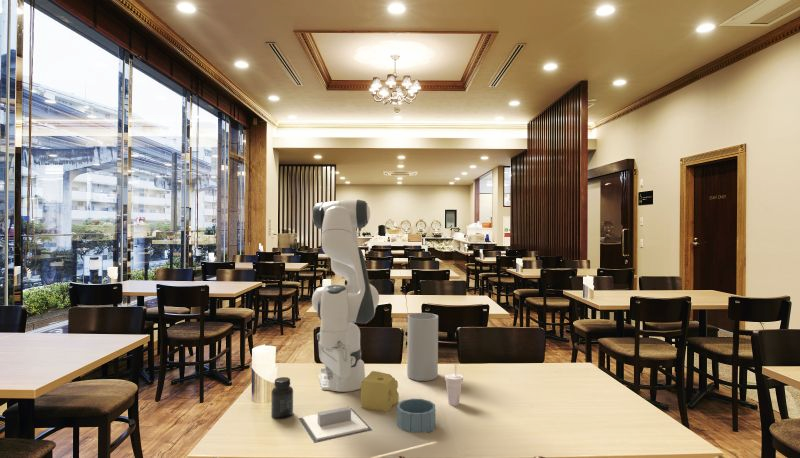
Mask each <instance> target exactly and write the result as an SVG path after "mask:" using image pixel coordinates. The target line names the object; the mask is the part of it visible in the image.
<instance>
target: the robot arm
mask: <svg viewBox="0 0 800 458" xmlns="http://www.w3.org/2000/svg"><path fill="white" fill-rule="evenodd" d="M370 217H371V210H370V207H369V205H368V203H367V202H366V200H363V199H356V200H355V199H340V200H333V201H332V200H330V201H325V202H324V201H321V202H317V203H315V204H314V206H313V207H312V211H311V219H312V221H313V225H314V227H316V228H317V229H320V230H321V235H320V238H321V249H322V251H323V253H324V254H325V255H326V257H327V258H329V259H330V268H331V271H332V272H333V273H334V274H335V275H338V276H339V277H341V278H344V279H345V280H346V284H331V285H325V286H320V287H317V288H316V289H315V290H314V292H313V293H312V297H311V304H312V308H313V309H314V310H315V311H316V313H317V318H318V319H319V320H320V321H321V322H320V323H321V325H320V329H319V332H318V333H317V334H316V339H317V340H318V357H319V360H320V363H323V366H321V369H320V372H321V373H319V374H318V381H319V385H320V388H321V390H323V391H333V392H340V393H341V392H342V393H343V392H344V393H346V392H354V391H358V390H361V382H362V380H363V379H365V378H366V371H365V370H366V369H365V362H364V361H363V360H362V349H361V330H360V327H359V326H358V325H357V324H365V325H366V324H367V323H369V322H370V321H372V319H373V318H374V317H375V315H376V314H375V313H376V308H377V307H378V306H379V302H380V296H379V292H378V290H377V288H376V287H375V286H374V285H372V284H371V283H370V280H369V274H368V268H367V265H366V260H365V256H364V253H363V250H362V248H360V246H359V245H360V244H359V237H358V232H361V231H362V229H364V228H365V227H366V226H367V225H368V223H369V221H370ZM357 228H358V232H357ZM355 323H356V324H355Z"/></svg>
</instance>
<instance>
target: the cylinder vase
mask: <svg viewBox="0 0 800 458" xmlns="http://www.w3.org/2000/svg"><path fill="white" fill-rule="evenodd" d="M406 341H407V342H406V343H407V346H406V347H407V348H406V349H407V351H406V352H407V355H406V356H407V358H406V359H407V360H406V361H407V362H406V363H407V364H406V370H407V371H406V373H407V377H408V378H409V379H410V380H412V381H419V382H430V381H434V380H436V379H437V378H438V374H439V373H438V371H439V370H438V369H439V368H438V367H439V366H438V365H439V362H438V361H439V358H438V357H439V315H438V314H434V313H431V312H429V313H428V312H414V313H409V314H408V315H407V340H406Z"/></svg>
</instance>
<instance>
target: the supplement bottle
mask: <svg viewBox="0 0 800 458" xmlns="http://www.w3.org/2000/svg"><path fill="white" fill-rule="evenodd" d="M270 395H271V398H270V399H271V400H270V401H271V405H270V406H271V411H270V412H271V413H270V414H271V418H272V419H274V420H285V419H289V418H291V417H292V416H293V415H294V389H293V387H292V386H291V378H289V377H288V376H287V377H286V376H284V377H277V378H275V380H274V387H273V388H272V389H271V393H270Z"/></svg>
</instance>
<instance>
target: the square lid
mask: <svg viewBox="0 0 800 458" xmlns="http://www.w3.org/2000/svg"><path fill="white" fill-rule="evenodd" d="M350 408H351V407H349V406H344V407H338V408H333V409H329V410H323V411H318V412H317V414H310V415H305V416H302V417H301V418H302V419H303V421H304V422H305V424H306V425H307V427H308V428H309V430H310V431H311V433H312V434H313V436H314V437H315V439H316V440H322V439H326V438H331V437H335V436H340V435H345V434H349V433H354V432H358V431H363V430H368V427H367V426H366V425H365V424H364V422H365V421H364V420H363V419H362V418H361V417H360V416H359V415H358V416H359V417H360V418H361V419H362V420H363V421H364V422H363V421H362V420H361V419H360V418H359V417H358V416H357V415H356V414H355V413H354V412H353V411H352V410H351V409H350Z"/></svg>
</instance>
